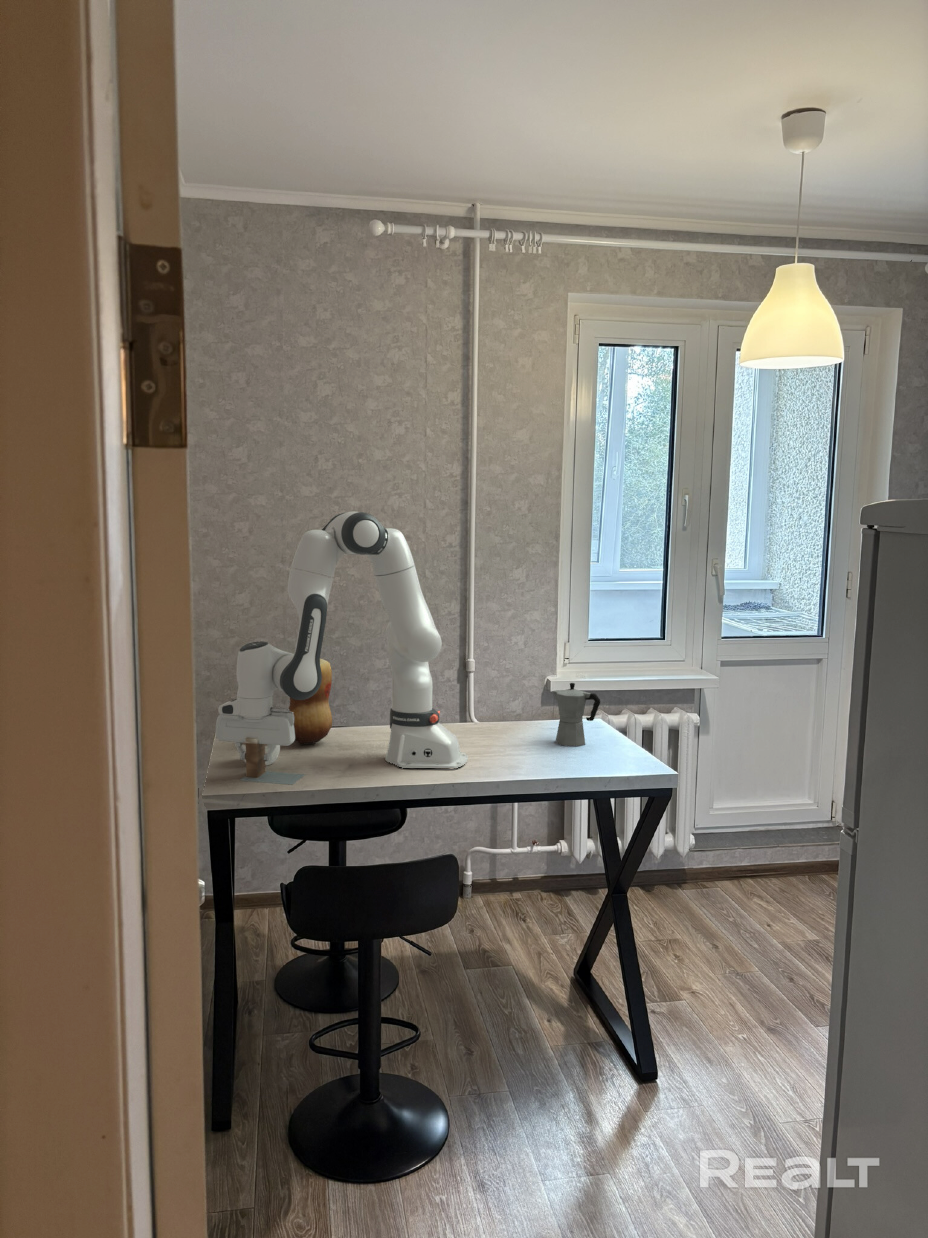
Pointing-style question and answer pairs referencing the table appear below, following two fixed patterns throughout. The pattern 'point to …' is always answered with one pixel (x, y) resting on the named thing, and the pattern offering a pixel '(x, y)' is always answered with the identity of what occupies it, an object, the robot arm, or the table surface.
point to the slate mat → (275, 778)
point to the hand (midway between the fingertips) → (255, 760)
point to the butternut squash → (314, 711)
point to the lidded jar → (274, 754)
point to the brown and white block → (254, 758)
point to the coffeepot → (573, 715)
